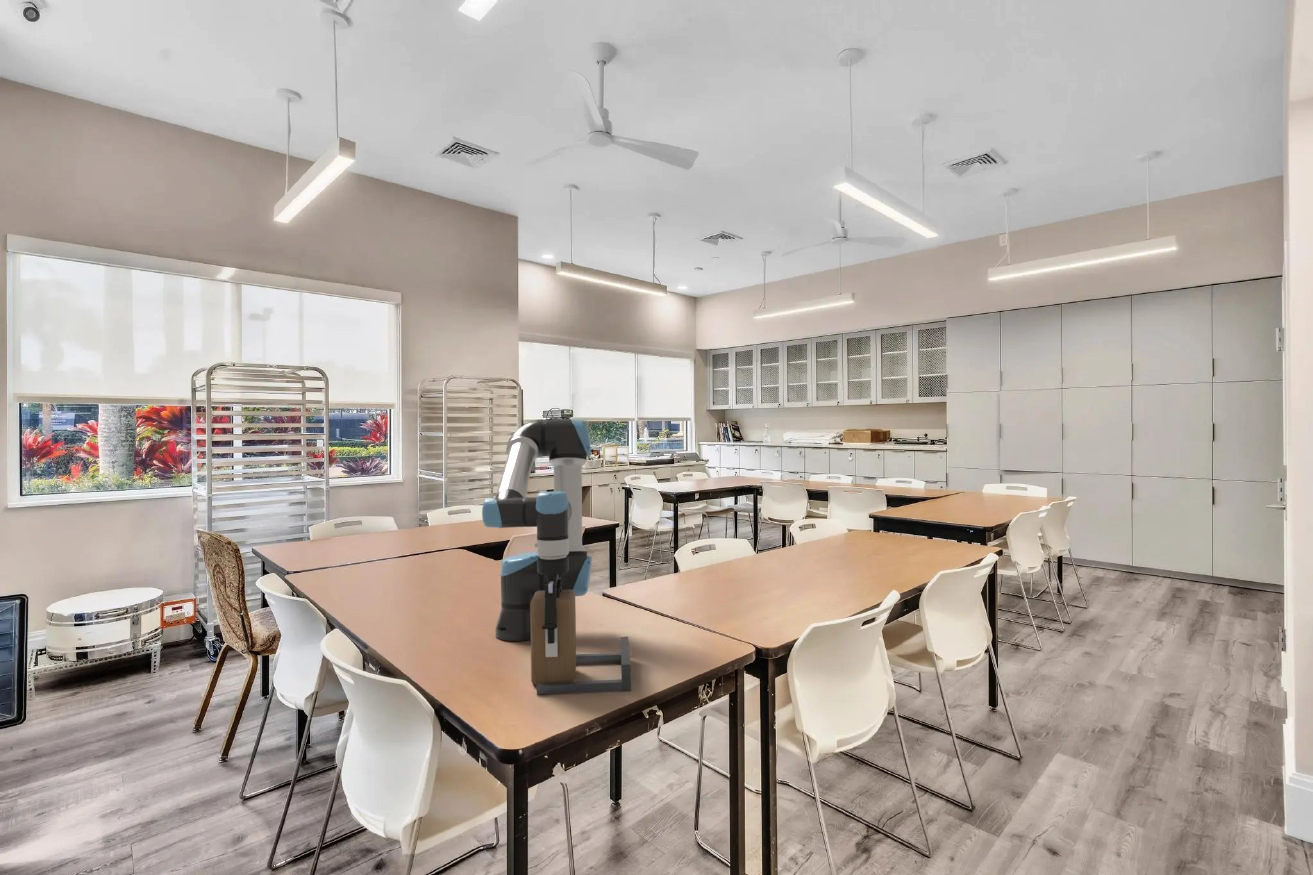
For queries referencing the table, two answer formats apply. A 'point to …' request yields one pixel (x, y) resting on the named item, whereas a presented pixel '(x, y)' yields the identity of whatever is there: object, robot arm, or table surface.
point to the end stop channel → (598, 685)
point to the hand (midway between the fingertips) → (554, 647)
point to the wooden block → (566, 630)
